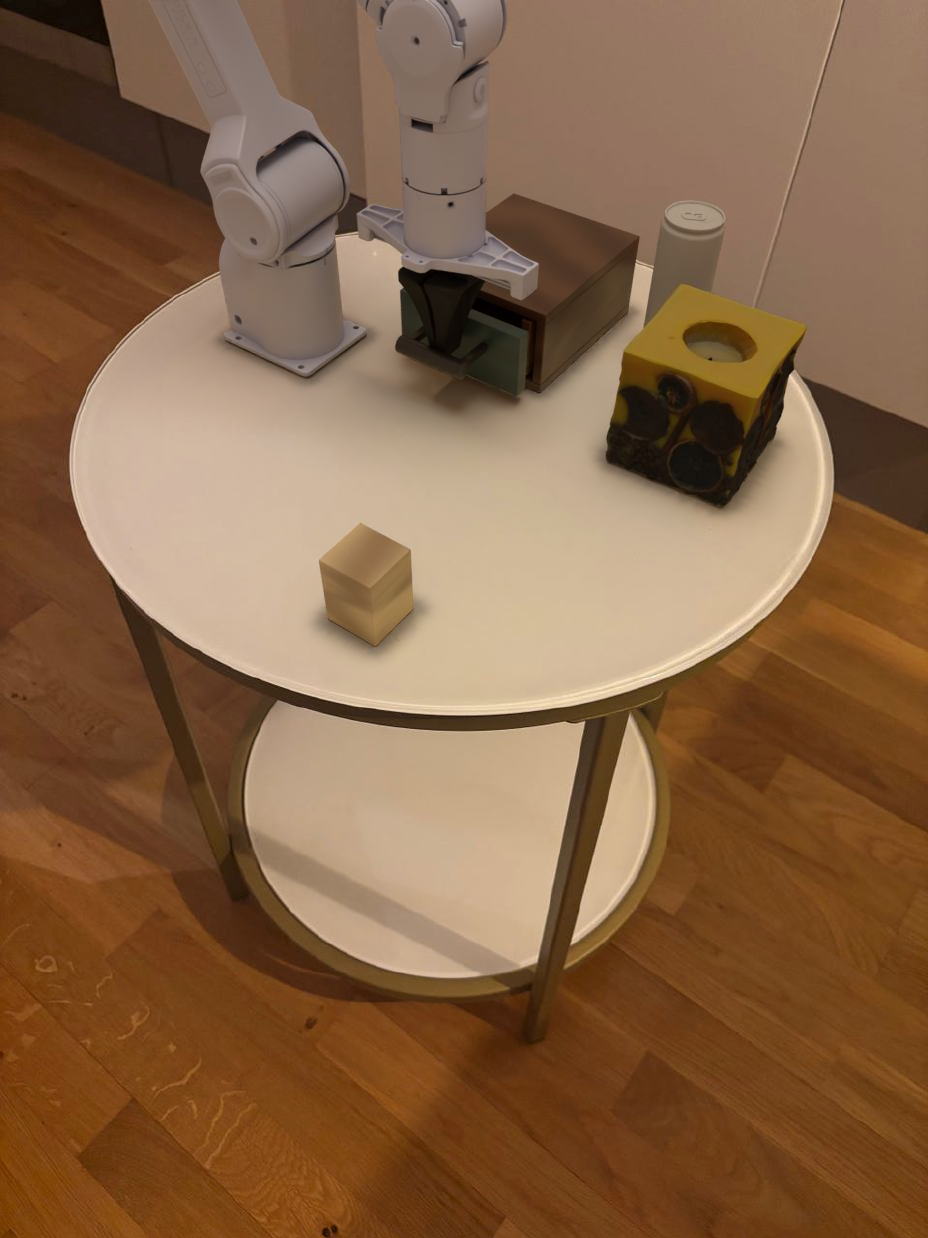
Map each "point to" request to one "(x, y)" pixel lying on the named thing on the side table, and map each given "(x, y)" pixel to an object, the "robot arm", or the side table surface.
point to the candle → (702, 393)
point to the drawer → (476, 345)
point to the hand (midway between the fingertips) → (445, 349)
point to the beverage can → (685, 251)
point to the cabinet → (563, 279)
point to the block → (367, 583)
